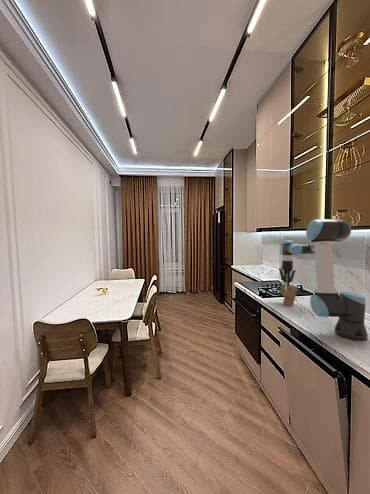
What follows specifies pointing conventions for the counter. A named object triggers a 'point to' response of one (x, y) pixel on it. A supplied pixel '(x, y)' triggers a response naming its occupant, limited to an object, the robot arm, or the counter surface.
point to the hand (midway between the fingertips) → (286, 290)
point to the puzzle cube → (284, 289)
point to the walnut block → (290, 295)
